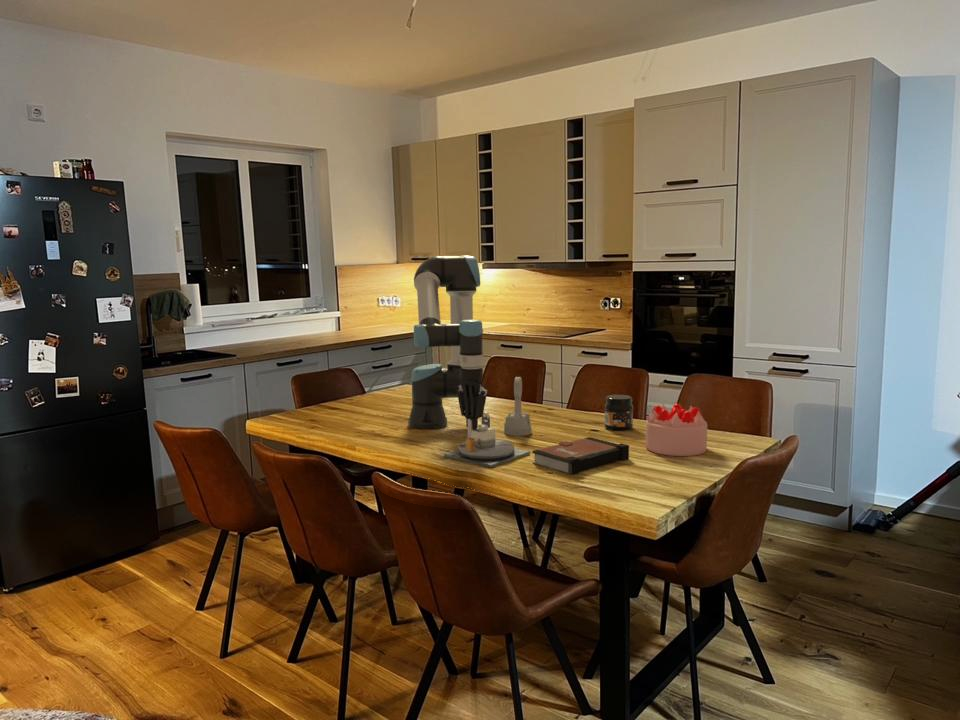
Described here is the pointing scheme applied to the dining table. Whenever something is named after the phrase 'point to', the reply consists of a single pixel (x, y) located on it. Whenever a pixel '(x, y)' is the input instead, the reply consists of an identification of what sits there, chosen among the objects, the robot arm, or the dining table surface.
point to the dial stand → (486, 419)
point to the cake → (676, 431)
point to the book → (580, 455)
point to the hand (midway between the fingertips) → (472, 437)
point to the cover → (483, 436)
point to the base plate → (487, 462)
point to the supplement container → (618, 413)
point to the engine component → (517, 415)
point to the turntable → (486, 450)
